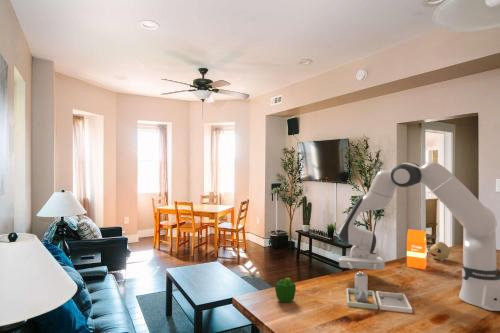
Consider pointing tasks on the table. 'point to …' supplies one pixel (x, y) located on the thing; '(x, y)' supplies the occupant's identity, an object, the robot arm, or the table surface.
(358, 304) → the bin
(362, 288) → the chrome tube with bumps
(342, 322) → the table surface
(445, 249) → the toy pig
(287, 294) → the bell pepper
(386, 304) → the bin
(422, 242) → the orange juice
